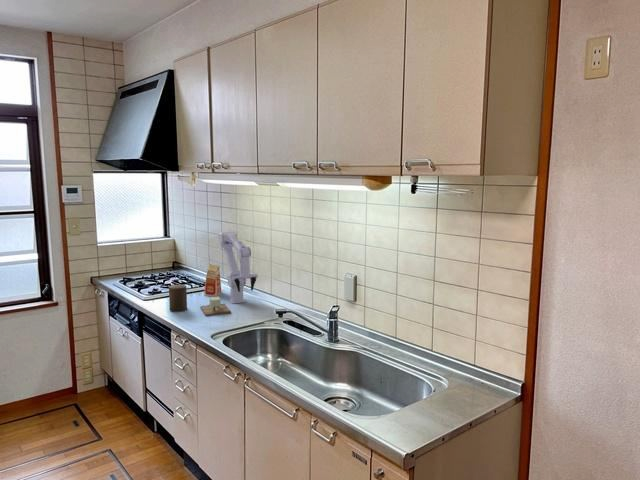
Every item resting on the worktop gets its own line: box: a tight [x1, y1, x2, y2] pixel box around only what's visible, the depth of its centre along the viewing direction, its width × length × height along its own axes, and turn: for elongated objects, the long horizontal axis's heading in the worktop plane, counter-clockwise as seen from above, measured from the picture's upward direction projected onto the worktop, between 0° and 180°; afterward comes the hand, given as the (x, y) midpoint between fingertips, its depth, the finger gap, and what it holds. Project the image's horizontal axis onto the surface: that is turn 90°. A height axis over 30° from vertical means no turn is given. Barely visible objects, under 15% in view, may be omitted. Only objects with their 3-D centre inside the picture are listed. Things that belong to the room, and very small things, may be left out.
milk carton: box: [204, 263, 222, 297], centre depth 308 cm, size 9×9×20 cm
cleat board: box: [200, 303, 232, 317], centre depth 275 cm, size 16×14×3 cm
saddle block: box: [209, 296, 222, 311], centre depth 275 cm, size 6×5×6 cm
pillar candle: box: [168, 284, 188, 313], centre depth 276 cm, size 10×10×15 cm
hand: (245, 290), depth 282 cm, fingers open, 7 cm apart
